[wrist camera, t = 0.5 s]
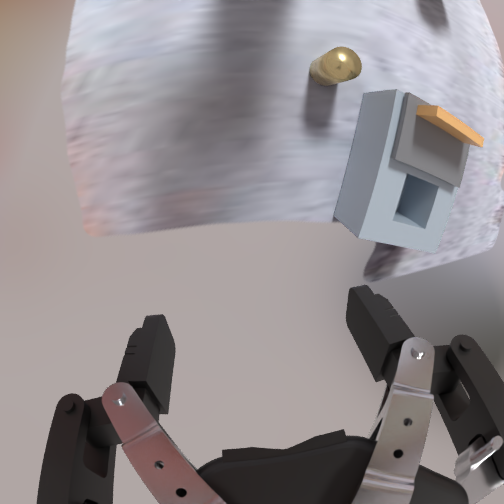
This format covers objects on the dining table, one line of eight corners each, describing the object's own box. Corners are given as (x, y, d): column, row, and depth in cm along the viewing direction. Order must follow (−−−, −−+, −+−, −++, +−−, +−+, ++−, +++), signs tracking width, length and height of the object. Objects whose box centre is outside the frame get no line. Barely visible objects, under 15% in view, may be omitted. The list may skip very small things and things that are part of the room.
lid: (405, 92, 23) (429, 91, 19) (468, 131, 25) (490, 136, 21) (391, 157, 26) (414, 165, 22) (455, 186, 28) (477, 195, 24)
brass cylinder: (312, 54, 27) (331, 41, 22) (341, 63, 28) (363, 54, 22) (307, 80, 29) (325, 72, 23) (335, 89, 30) (358, 84, 24)
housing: (363, 93, 30) (396, 89, 23) (435, 128, 32) (470, 134, 25) (333, 215, 37) (358, 238, 30) (406, 231, 40) (435, 253, 33)
